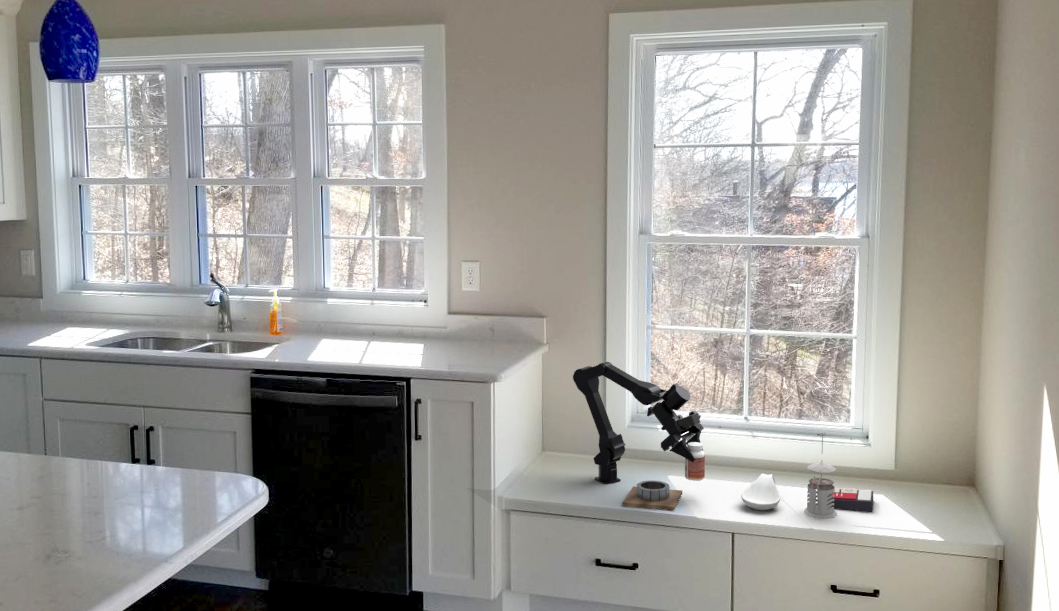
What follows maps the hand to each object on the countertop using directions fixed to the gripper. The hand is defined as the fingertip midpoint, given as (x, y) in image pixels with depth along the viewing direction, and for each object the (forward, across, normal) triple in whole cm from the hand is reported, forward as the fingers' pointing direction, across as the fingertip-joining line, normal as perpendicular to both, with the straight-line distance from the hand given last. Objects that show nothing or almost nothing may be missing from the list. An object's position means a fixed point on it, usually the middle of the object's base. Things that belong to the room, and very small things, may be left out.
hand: (698, 458), depth 305 cm
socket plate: (+2, -9, +17) cm, 19 cm away
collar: (+1, -9, +17) cm, 19 cm away
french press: (+34, +10, -16) cm, 39 cm away
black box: (+37, +23, -18) cm, 47 cm away
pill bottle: (+4, 0, +6) cm, 7 cm away
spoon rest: (+22, +10, -2) cm, 24 cm away
